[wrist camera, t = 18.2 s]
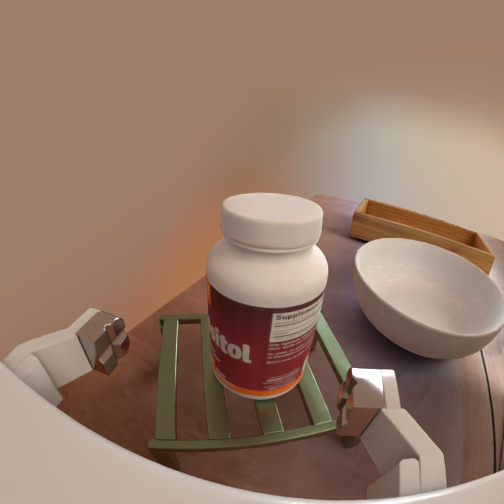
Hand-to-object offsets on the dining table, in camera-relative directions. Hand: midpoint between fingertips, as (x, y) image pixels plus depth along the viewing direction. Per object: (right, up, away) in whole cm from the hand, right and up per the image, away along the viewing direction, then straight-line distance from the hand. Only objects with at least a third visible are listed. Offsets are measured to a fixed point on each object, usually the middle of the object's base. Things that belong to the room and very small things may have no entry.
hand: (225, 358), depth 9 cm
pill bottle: (+1, -4, +9) cm, 10 cm away
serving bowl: (+22, -5, +20) cm, 30 cm away
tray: (+37, +4, +42) cm, 56 cm away
